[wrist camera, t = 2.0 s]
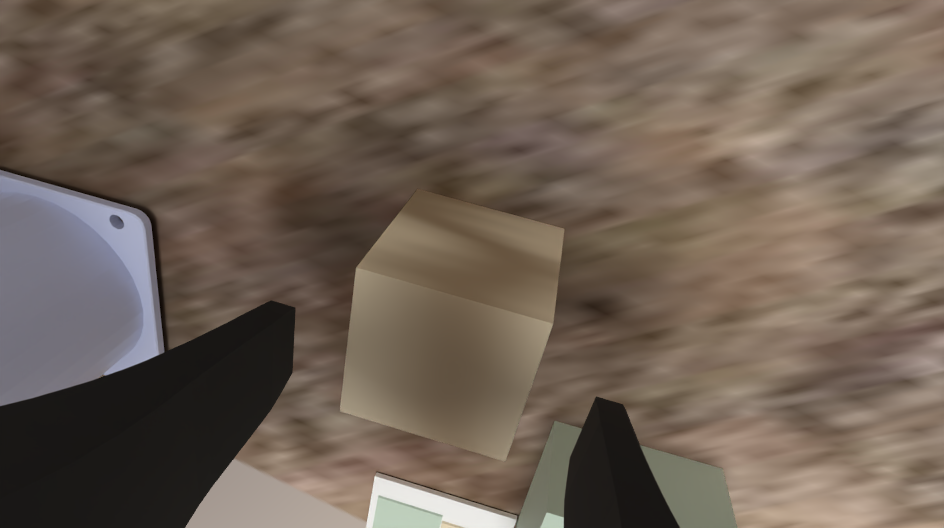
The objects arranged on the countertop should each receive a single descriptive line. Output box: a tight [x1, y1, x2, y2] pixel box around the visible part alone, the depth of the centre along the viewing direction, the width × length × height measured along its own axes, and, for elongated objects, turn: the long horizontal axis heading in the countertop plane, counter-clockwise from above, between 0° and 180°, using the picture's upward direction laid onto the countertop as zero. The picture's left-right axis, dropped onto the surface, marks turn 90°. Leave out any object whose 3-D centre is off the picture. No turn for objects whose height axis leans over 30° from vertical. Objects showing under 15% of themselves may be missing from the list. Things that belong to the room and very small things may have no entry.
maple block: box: [340, 189, 565, 461], centre depth 15 cm, size 4×4×5 cm
